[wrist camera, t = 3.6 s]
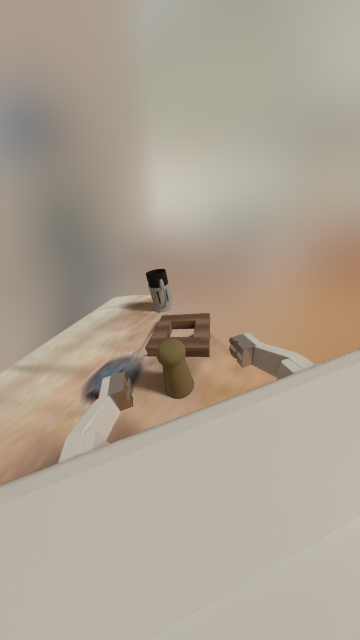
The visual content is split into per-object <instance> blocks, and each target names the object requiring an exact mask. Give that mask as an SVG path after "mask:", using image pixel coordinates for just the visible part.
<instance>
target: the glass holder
mask: <svg viewBox="0 0 360 640" xmlns="http://www.w3.org/2000/svg"><path fill="white" fill-rule="evenodd" d="M146 276H147V280H148V283H149V289H150V293H151V296H152V300H153V303H154V310H155V311H156V312H166V311H169V310H171V309H172V308H173V307H174V304H173V302H172V297H171V292H170V288H169V283H168V280H167V276H166V270H165V269H156V270H152V271H149V272H147V273H146Z"/></svg>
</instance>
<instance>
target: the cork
mask: <svg viewBox="0 0 360 640" xmlns="http://www.w3.org/2000/svg"><path fill="white" fill-rule="evenodd" d="M156 354H157V359H158V361H159V362H160V363H161V364H162V366H163V373H164V381H165V388H166V392H167V394H168V395H169V396H170V397H172V398H175V399H181V398H184V397H186V396H188V395H189V394H190V393H191V392H192V390H193V388H194V381H193V378H192V376H191V373H190V371H189V368H188V366H187V363H186V361H185V354H186V350H185V346H184V344H183V343H182V342H181V341H179V340H177V339H168V340H165V341H163V342H162V343H160V344H159V346H158V348H157V350H156Z"/></svg>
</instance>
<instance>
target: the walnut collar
mask: <svg viewBox="0 0 360 640" xmlns="http://www.w3.org/2000/svg"><path fill="white" fill-rule="evenodd" d="M172 329H194V336H193V337H170V335H171V332H172ZM168 339H177V340H179V341H181V342H182V343H183V344H184V346H185V350H186V354H185V356H186V357H209V351H210V314H209V313H202V314H183V315H164V316H162V317H161V319H160V321H159V323H158V324H157V326H156V328H155V330H154V332H153V334H152V336H151V338H150V340H149V342H148V344H147V346H146V347H145V348H146V350H147V353H148V356H157V354H156V350H157V348H158V346H159V344H160V343H162V342H163V341H165V340H168Z"/></svg>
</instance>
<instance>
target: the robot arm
mask: <svg viewBox="0 0 360 640" xmlns="http://www.w3.org/2000/svg"><path fill="white" fill-rule="evenodd" d="M229 342H230V343H231V345H230V346H229V350H230V353H231V355H232V356H233V357H234V358H236V359H237V362H238V363H239V365H240V366H241V367H242V368H243V367H246V366H249V365H253V366H255V367H257V368H259V369H261V370H263V371H265V372H267V373H269V374H271V375H273V376H275V377H277V380H276V381H273V382H270V383H268V384H265V385H263V386H260V387H257V388H255V389H252V390H249V391H247V392H244V393H242V394H239V395H236V396H234V397H231V398H228V399H226V400H223V401H221V402H218V403H215V404H213V405H210V406H208V407H205V408H202V409H200V410H197V411H194V412H192V413H189V414H187V415H184V416H181V417H179V418H176V419H173V420H171V421H168V422H165V423H163V424H160V425H158V426H155V427H152V428H150V429H147V430H144V431H142V432H139V433H137V434H134V435H131V436H129V437H126V438H123V439H121V440H118V441H116V442H113V443H110V444H109V443H108V442H107V441H106V440H107V438H108V436H109V434H110V432H111V430H112V428H113V426H114V424H115V422H116V420H117V418H118V416H119V414H120V411H122V410H125V409H128V408H130V407H133V397H132V395H131V394H132V393H133V386H132V382H131V380H130V379H129V378H128V374H127V372H122V373H118V374H115V375H112V376H109V377H105V378H104V379H103V380H102V385H101V390H100V394H99V399H97V400H96V401H95V402H94V403H93V405H92V406H91V407H90V408H89V410H88V411H87V412H86V413H85V415H84V416H83V417H82V418H81V420H80V421H79V422H78V424H77V425H76V426H75V427H74V429H73V430H72V431H71V432H70V434H69V435H68V436H67V438H66V441H65V444H64V447H63V450H62V453H61V456H60V459H59V462H58V464H55V465H53V466H50V467H47V468H45V469H42V470H39V471H37V472H34V473H31V474H29V475H26V476H24V477H21V478H18V479H16V480H13V481H10V482H8V483H5V484H3V485H0V640H360V348H359V349H357V350H354V351H352V352H349V353H347V354H344V355H341V356H339V357H336V358H334V359H331V360H328V361H326V362H323V363H321V364H318V365H315V364H313V363H312V362H310V361H309V360H308V359H306V358H305V357H303V356H302V355H301V354H298V353H296V352H292V351H289V350H285V349H282V348H278V347H275V346H272V345H268V344H265V343H264V344H262V343H261V342H260V341H258V340H257V339H256V338H255V337H254V336H252V335H251V334H250V333H248V332H247V333H244V334H241V335H238V336H235V337H232V338H230V339H229Z"/></svg>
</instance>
